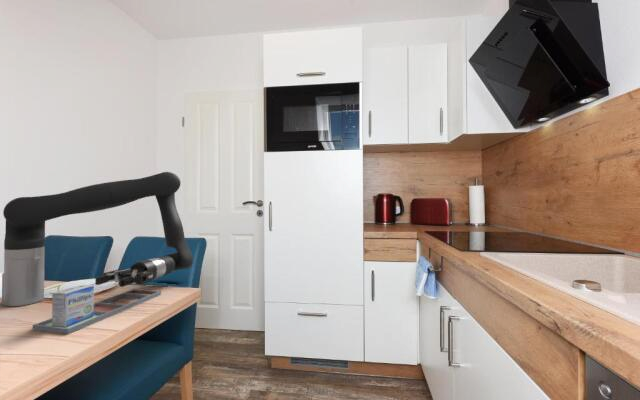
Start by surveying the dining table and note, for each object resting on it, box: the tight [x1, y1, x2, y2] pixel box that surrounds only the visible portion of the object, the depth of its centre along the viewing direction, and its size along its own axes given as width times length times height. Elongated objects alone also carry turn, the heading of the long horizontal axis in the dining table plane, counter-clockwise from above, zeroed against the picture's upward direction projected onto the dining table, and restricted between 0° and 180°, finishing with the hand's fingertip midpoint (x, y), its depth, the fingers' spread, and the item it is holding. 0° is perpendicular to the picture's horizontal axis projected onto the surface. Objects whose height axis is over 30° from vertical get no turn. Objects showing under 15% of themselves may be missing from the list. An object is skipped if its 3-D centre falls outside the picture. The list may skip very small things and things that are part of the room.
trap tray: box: [32, 288, 162, 335], centre depth 92 cm, size 11×32×1 cm, turn 169°
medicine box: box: [51, 284, 95, 327], centre depth 82 cm, size 8×4×9 cm, turn 169°
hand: (108, 282), depth 92 cm, fingers open, 8 cm apart
